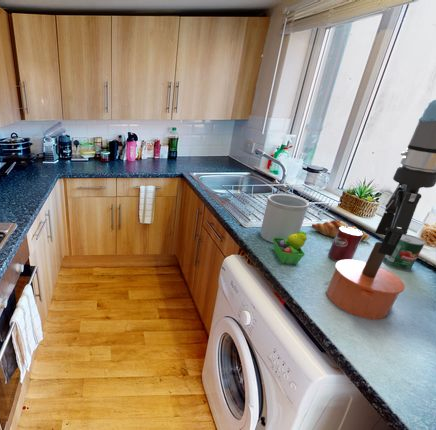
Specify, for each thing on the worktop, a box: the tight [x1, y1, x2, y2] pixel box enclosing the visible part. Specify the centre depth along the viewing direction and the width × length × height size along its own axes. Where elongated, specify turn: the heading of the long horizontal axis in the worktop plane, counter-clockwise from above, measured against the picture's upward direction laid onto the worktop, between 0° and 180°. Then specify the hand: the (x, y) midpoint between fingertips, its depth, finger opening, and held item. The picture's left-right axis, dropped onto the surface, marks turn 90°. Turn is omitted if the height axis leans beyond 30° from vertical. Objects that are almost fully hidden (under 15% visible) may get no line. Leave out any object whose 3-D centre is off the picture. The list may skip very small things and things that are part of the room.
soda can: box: [327, 227, 363, 262], centre depth 106 cm, size 7×7×12 cm
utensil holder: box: [259, 193, 310, 244], centre depth 119 cm, size 15×15×18 cm
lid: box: [334, 241, 406, 295], centre depth 81 cm, size 16×16×11 cm
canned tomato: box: [382, 233, 426, 272], centre depth 103 cm, size 8×8×11 cm
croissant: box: [311, 219, 372, 241], centre depth 124 cm, size 21×10×8 cm, turn 66°
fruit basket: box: [273, 230, 308, 265], centre depth 106 cm, size 11×9×11 cm
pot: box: [326, 268, 400, 321], centre depth 85 cm, size 15×20×10 cm
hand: (382, 243), depth 78 cm, fingers open, 13 cm apart
